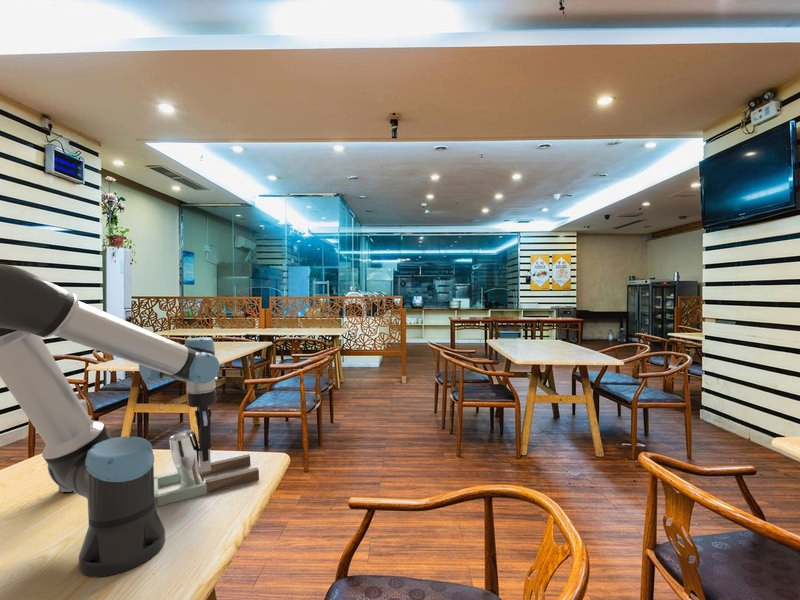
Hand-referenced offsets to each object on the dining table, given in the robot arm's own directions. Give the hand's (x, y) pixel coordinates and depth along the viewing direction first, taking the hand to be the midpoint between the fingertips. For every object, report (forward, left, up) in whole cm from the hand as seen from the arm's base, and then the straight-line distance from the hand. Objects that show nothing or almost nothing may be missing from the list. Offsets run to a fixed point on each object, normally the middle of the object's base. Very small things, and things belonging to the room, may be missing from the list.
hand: (205, 470), depth 116 cm
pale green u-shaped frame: (0, +7, -4) cm, 8 cm away
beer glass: (0, +4, -3) cm, 5 cm away
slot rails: (0, -6, -4) cm, 7 cm away
